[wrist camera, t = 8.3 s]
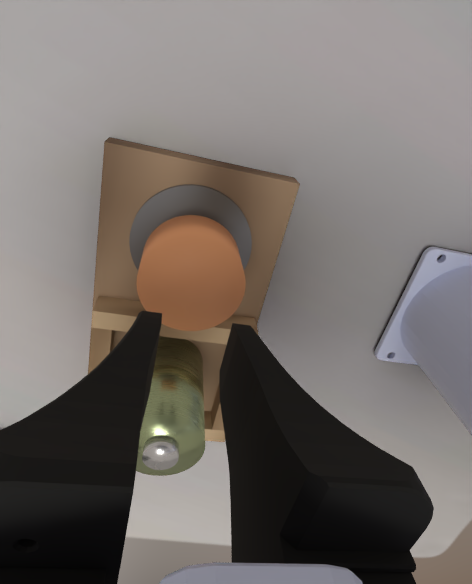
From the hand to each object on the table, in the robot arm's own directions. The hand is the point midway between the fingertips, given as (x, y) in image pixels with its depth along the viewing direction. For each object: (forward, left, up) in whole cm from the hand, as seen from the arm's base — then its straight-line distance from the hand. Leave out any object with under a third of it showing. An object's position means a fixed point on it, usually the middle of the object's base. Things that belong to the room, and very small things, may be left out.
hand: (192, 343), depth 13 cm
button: (0, 0, -6) cm, 6 cm away
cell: (0, +8, -8) cm, 11 cm away
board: (0, +5, -9) cm, 11 cm away
